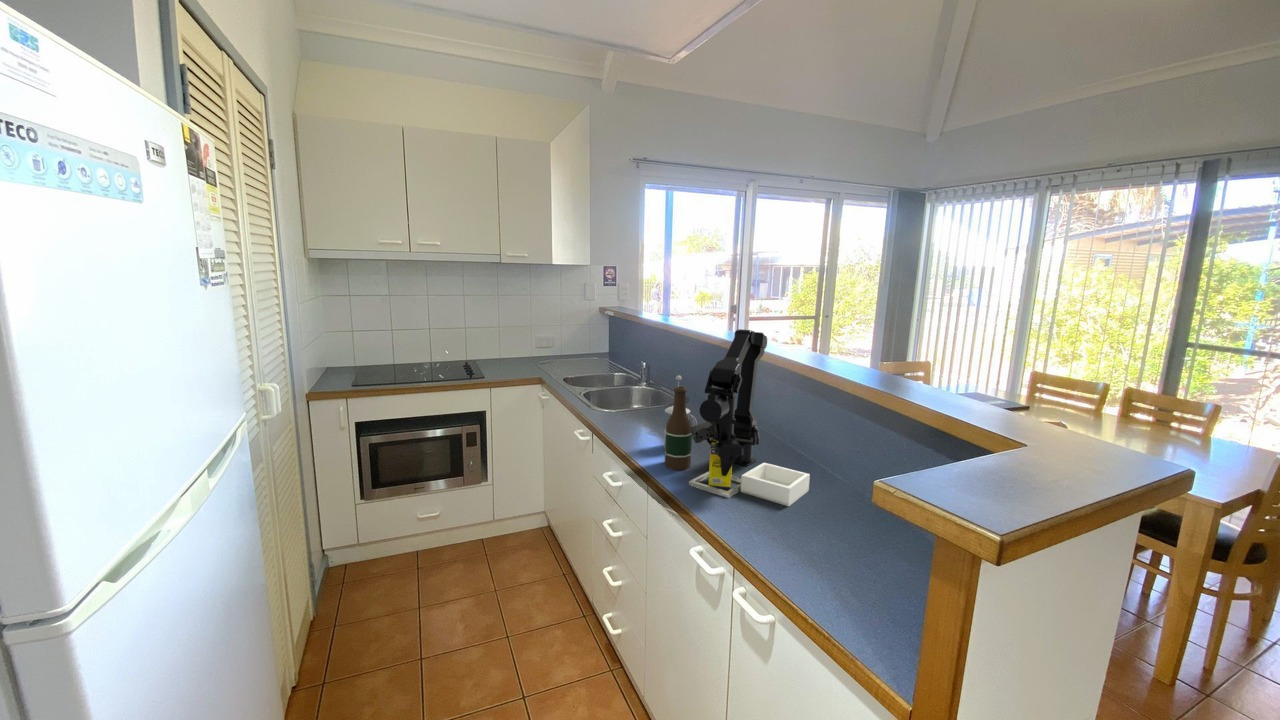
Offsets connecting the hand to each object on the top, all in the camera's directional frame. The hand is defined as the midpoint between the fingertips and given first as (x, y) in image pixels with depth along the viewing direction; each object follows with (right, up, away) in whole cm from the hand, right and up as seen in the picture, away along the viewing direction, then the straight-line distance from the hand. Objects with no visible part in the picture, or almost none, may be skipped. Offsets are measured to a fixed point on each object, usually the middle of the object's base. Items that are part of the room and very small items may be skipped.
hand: (720, 470), depth 136 cm
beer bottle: (-11, -2, +13) cm, 17 cm away
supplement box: (0, -4, +1) cm, 4 cm away
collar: (0, -4, +1) cm, 4 cm away
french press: (-9, 0, +27) cm, 29 cm away
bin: (+14, -5, -3) cm, 15 cm away
